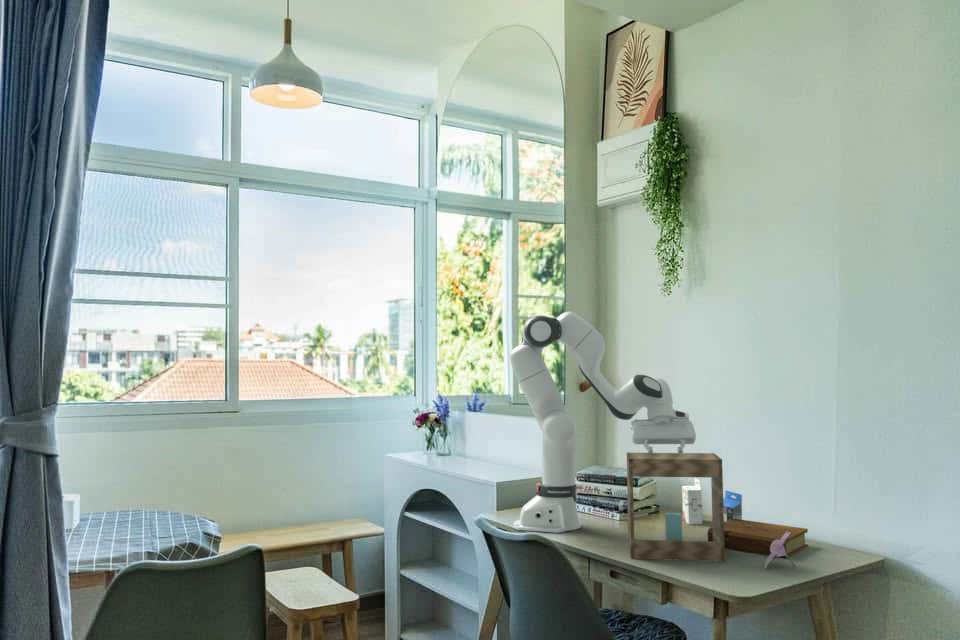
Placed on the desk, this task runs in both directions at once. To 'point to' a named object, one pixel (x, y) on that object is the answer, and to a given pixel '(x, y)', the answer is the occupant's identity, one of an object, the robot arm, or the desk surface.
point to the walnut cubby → (678, 468)
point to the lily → (778, 549)
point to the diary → (760, 537)
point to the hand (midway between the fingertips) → (665, 452)
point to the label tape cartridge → (732, 506)
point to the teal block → (673, 526)
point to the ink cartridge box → (692, 503)
